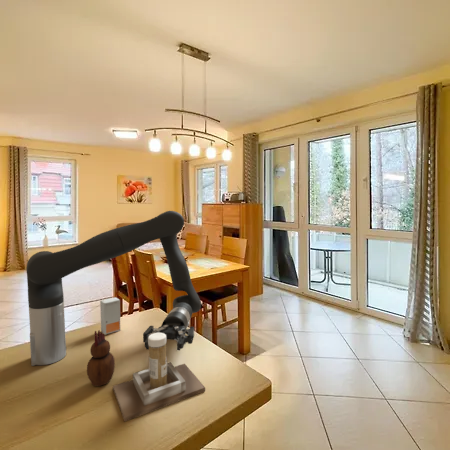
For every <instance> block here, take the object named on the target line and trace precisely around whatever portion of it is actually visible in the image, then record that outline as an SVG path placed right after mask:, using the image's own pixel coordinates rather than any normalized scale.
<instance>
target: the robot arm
mask: <svg viewBox="0 0 450 450" xmlns="http://www.w3.org/2000/svg"><path fill="white" fill-rule="evenodd" d="M184 226H185V219H184V216H183V215H182V214H181V213H180V212H178V211H175V210H167V211H165V212H162V213H160V214H159V215H157V216H155V217H152V218H150V219H148V220H144V221H142V222H136V223H132V224H126V225H123V226H120V227H116V228H113V229H110V230H107V231H104V232H101V233H99V234H96V235H94V236H93V237H91V238H89V239H87V240H85V241H83V242H81V243H79V244H77V245H75V246H73V247H69V248H66V249H63V250H60V251H55V252H52V251H49V250H42V251H39V252H36V253H34V254H32V255H31V256H30V257H29V259H28V260H27V263H26V269H25V271H26V282H27V299H28V300H27V302H28V313H29V314H28V315H29V316H28V317H29V318H28V319H29V344H30V345H29V348H30V362H31V366H32V367H33V366H47V365H51V364H54V363H57V362H59V361H61V360H62V359H64V358H65V357H66V355H67V343H66V342H67V341H66V339H67V338H66V324H65V323H66V321H65V301H64V300H65V299H64V290H63V288H64V287H63V278H65V277H67V276H69V275H71V274H73V273H76V272H77V271H81V270H83V269H84V268H87V267H91V266H94V265H97V264H100V263H103V262H106V261H109V260H111V259H114V258H117V257H120V256H122V255H125V254H127V253H130V252H131V251H135V250H137V249H138V248H140V247H143V246H144V245H146V244H148V243H151V242H153V241H155V240H158V239H159V241H160V244H161V246H162V248H163V251H164V254H165V258H166V262H167V265H168V270H169V274H170V278H171V282H172V283H171V284H172V286H173V289H174V291H177V292H185V293H186V295H180V296H177V297H175V298H174V299H173V300H172V309H171V310H170V311H169V313H168V314H167V315H166V317H165V318H164V320H163V321H162V323H161V326H159V327H158V328H156V327H155V328H154V325H149V326H148V327H147V328H146V330H145V331H143V333H142V336H143V337H142V340H143V341H142V342H143V343H144V349H145V350H148V351H149V345H148V337H149V336H150V335H151V334H154V333H164V334H165V335H166V341H167V340H170V341H176V351H177V352H178V351H181V350H182V349H183V348H184V347H185V345H186V343H187V344H189V345H191V344H193V341H194V338H195V326H190V327H189V325H190V320H191V318H192V316H193V314H195V313H197V312H200V311H201V308H202V302H201V298H200V297H199V294H198V293H197V291H196V289H195V287H194V285H193V283H192V279H191V275H190V270H189V266H188V264H187V261H186V259H185V256H184V255H183V253H182V251H181V249H180V246H179V242H178V234H179V233H180V232H181V231H182V230H183V228H184ZM188 327H189V328H188Z"/></svg>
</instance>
